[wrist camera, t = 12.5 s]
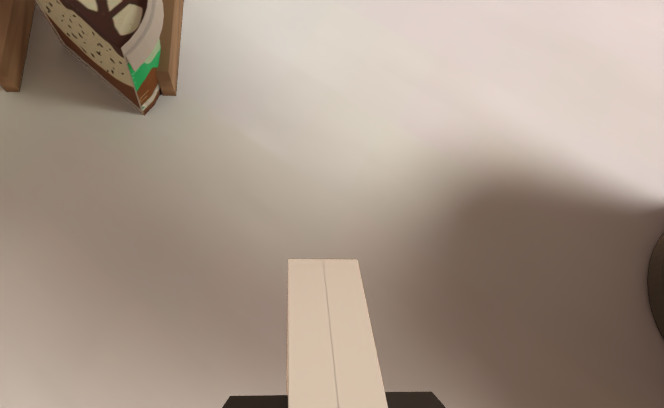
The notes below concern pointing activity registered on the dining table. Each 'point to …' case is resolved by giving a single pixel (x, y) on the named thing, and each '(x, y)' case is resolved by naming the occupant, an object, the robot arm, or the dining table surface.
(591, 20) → the dining table surface
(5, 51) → the caddy
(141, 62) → the food container
